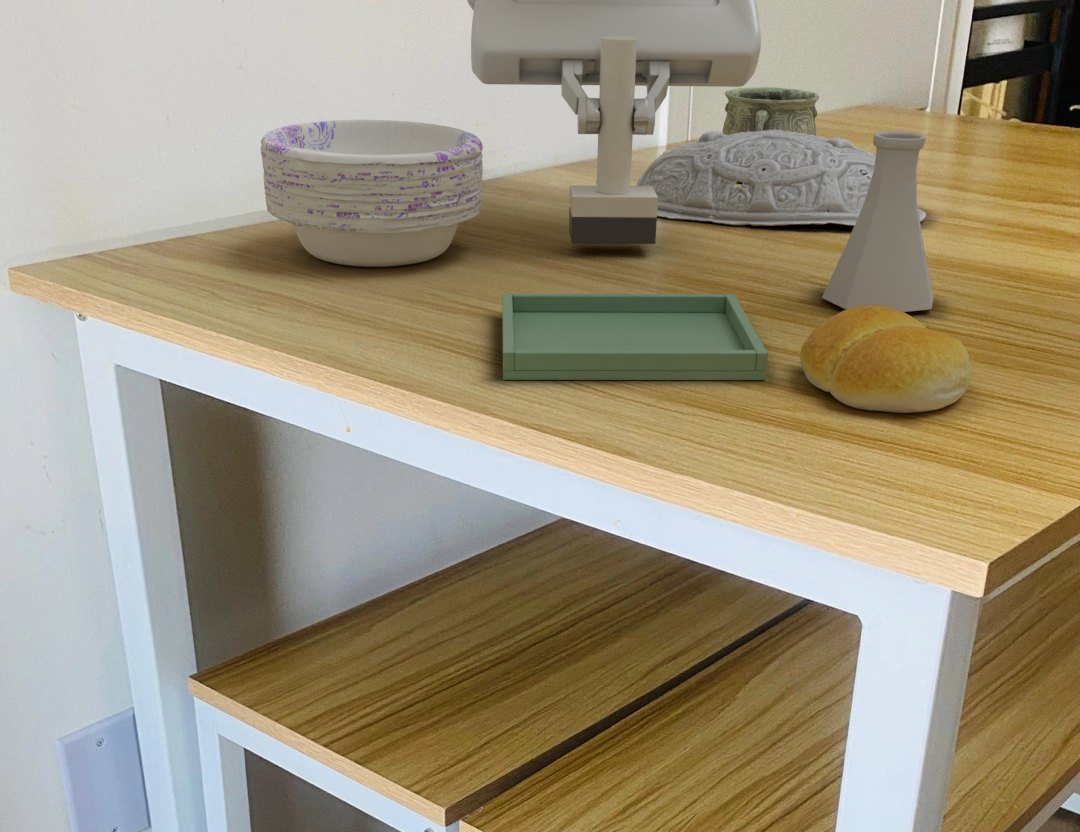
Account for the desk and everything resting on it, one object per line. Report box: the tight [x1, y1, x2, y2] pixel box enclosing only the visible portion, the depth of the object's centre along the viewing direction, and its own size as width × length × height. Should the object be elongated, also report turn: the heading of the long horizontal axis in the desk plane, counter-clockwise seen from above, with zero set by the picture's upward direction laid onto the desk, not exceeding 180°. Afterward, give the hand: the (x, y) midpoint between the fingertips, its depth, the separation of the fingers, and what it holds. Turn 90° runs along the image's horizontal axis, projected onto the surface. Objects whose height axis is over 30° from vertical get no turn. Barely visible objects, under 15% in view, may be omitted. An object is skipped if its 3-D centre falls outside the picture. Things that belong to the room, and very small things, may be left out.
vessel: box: [722, 86, 820, 136], centre depth 128 cm, size 12×9×6 cm
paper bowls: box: [260, 119, 484, 268], centre depth 96 cm, size 15×15×8 cm
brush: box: [568, 36, 658, 245], centre depth 96 cm, size 6×4×13 cm, turn 91°
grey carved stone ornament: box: [635, 130, 927, 227], centre depth 111 cm, size 16×25×7 cm, turn 73°
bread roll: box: [799, 305, 972, 414], centre depth 72 cm, size 8×9×4 cm
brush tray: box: [501, 292, 769, 381], centre depth 79 cm, size 14×12×2 cm
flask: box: [821, 130, 934, 313], centre depth 85 cm, size 7×7×10 cm
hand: (616, 129), depth 95 cm, fingers closed on brush, 2 cm apart
